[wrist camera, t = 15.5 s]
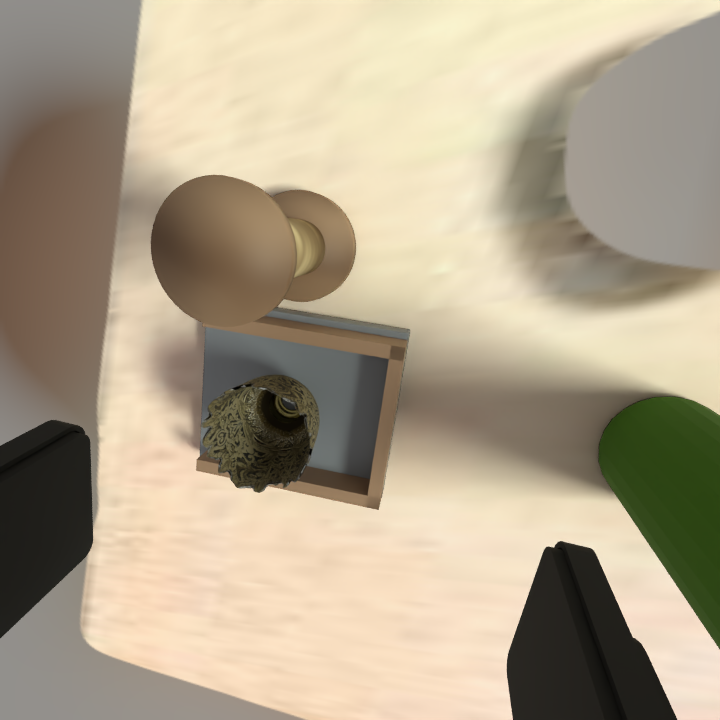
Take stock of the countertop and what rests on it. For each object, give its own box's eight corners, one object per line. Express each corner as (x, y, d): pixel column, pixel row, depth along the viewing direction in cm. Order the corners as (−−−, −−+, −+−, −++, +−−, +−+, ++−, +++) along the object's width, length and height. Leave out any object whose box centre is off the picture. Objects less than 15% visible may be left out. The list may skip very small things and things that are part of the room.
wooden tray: (215, 297, 38) (190, 304, 34) (410, 329, 36) (406, 340, 32) (207, 452, 42) (184, 473, 38) (383, 488, 40) (377, 515, 36)
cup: (259, 446, 39) (215, 497, 32) (238, 362, 38) (186, 395, 30) (345, 437, 38) (320, 489, 30) (327, 349, 36) (296, 380, 29)
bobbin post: (258, 185, 35) (141, 153, 22) (362, 199, 34) (309, 174, 21) (251, 290, 38) (141, 322, 24) (348, 306, 37) (292, 349, 23)
